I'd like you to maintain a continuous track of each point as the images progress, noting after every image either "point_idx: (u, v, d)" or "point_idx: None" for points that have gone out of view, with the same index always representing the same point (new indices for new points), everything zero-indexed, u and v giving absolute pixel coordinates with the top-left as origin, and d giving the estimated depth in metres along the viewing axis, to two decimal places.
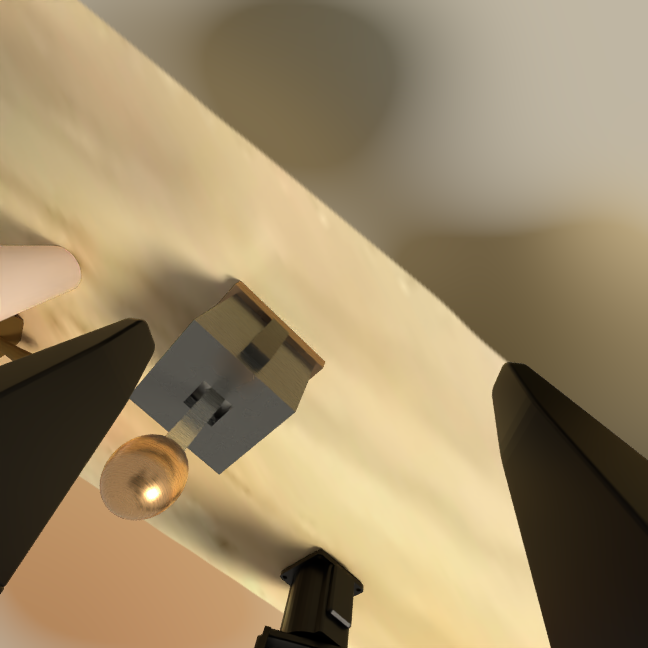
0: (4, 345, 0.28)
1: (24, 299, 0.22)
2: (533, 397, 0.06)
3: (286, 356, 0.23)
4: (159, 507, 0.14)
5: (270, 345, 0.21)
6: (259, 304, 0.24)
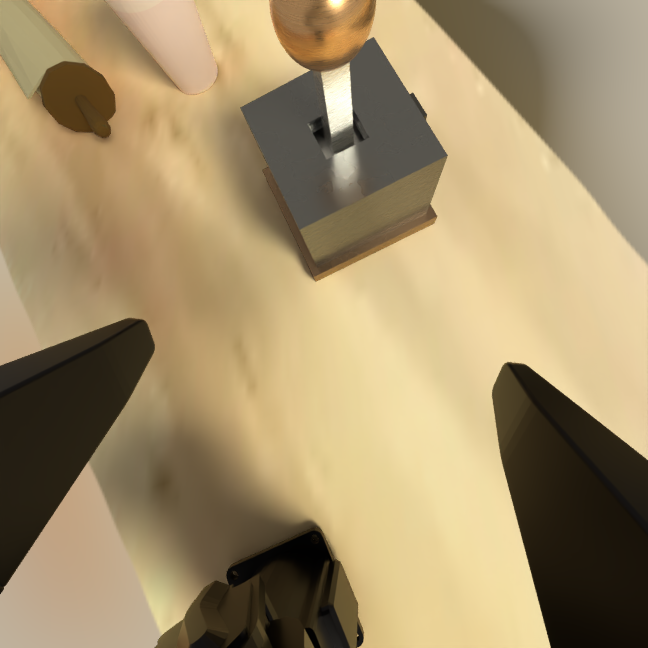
0: (89, 103, 0.25)
1: (178, 23, 0.21)
2: (533, 397, 0.06)
3: None
4: None
5: None
6: None
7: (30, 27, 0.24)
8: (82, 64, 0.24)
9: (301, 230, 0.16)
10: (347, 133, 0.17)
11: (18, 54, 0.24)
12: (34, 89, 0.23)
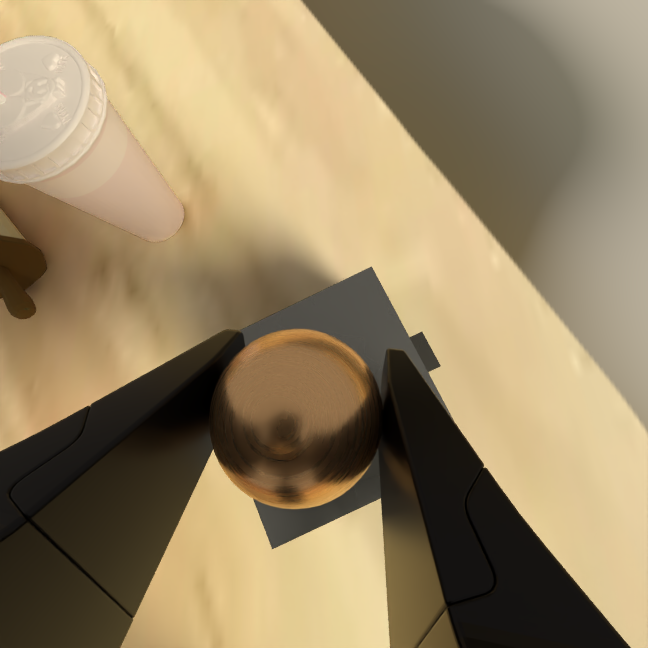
0: (8, 277, 0.20)
1: (127, 197, 0.17)
2: (389, 378, 0.06)
3: None
4: (346, 473, 0.06)
5: None
6: None
7: None
8: None
9: None
10: None
11: None
12: None
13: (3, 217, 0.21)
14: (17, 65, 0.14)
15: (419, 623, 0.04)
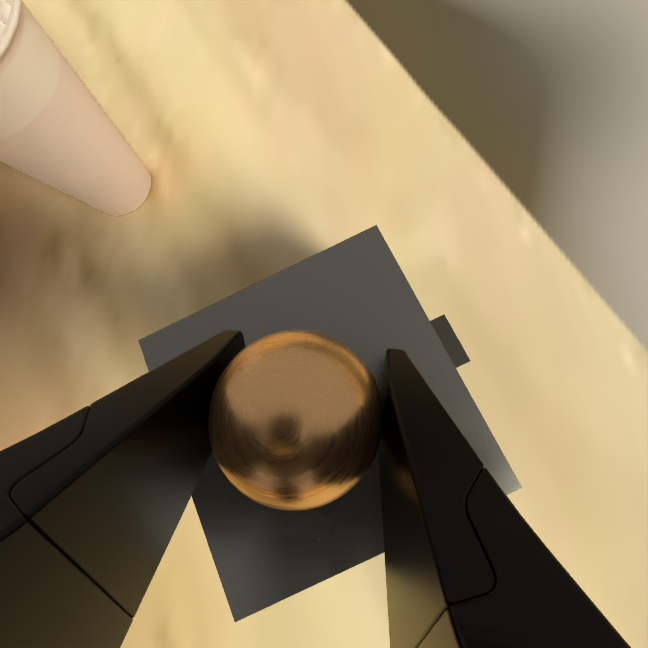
0: None
1: (66, 149, 0.14)
2: (389, 379, 0.06)
3: None
4: (346, 475, 0.06)
5: None
6: None
7: None
8: None
9: None
10: None
11: None
12: None
13: None
14: None
15: (419, 623, 0.04)
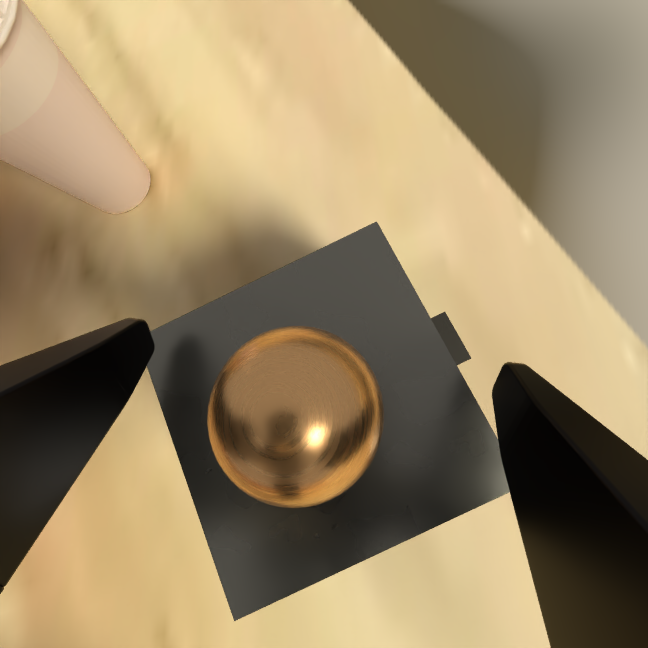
0: None
1: (64, 146, 0.13)
2: (533, 397, 0.06)
3: None
4: (346, 471, 0.06)
5: None
6: None
7: None
8: None
9: (238, 615, 0.08)
10: None
11: None
12: None
13: None
14: None
15: None
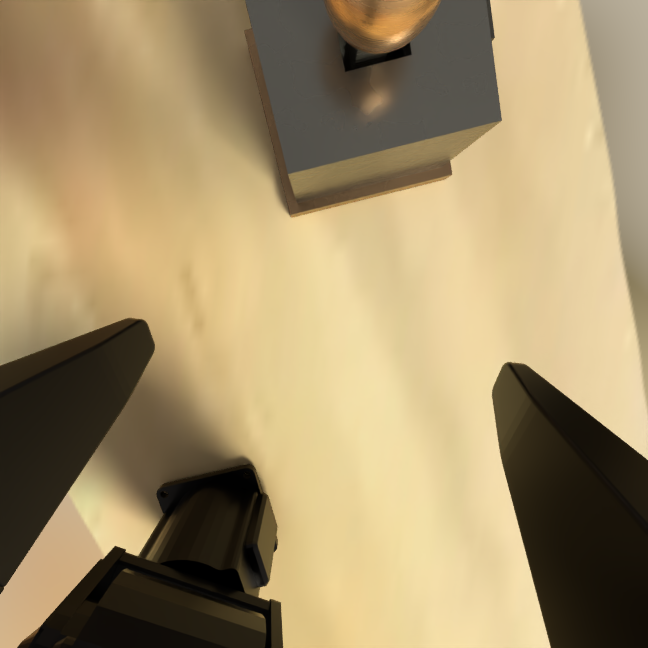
0: None
1: None
2: (533, 397, 0.06)
3: None
4: None
5: None
6: None
7: None
8: None
9: (290, 174, 0.12)
10: None
11: None
12: None
13: None
14: None
15: None
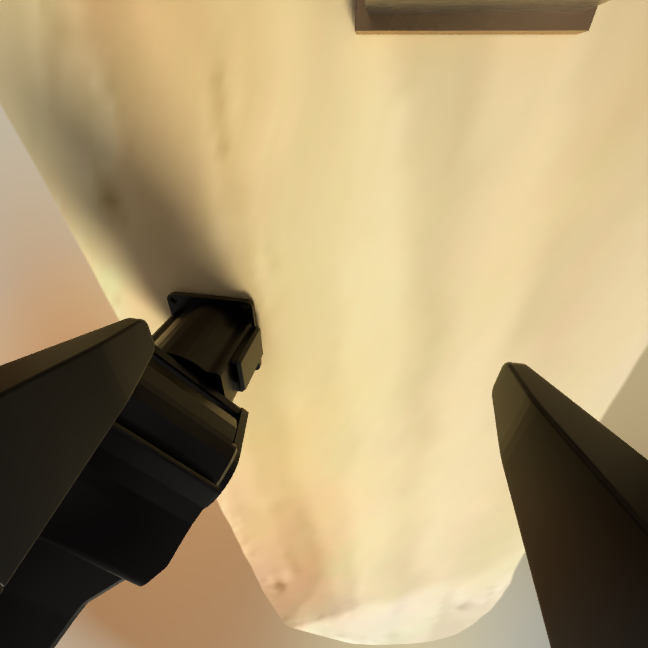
0: None
1: None
2: (533, 397, 0.06)
3: None
4: None
5: None
6: None
7: None
8: None
9: None
10: None
11: None
12: None
13: None
14: None
15: None
